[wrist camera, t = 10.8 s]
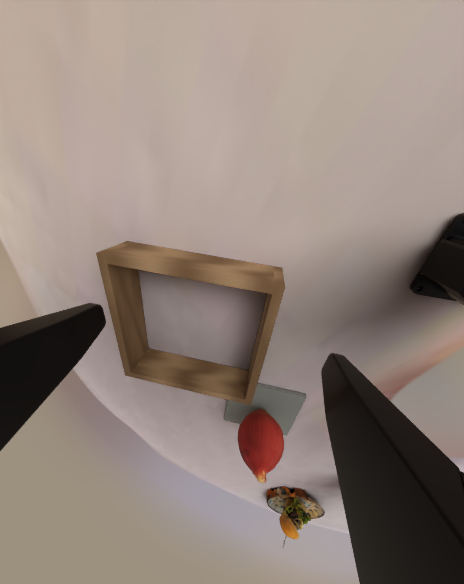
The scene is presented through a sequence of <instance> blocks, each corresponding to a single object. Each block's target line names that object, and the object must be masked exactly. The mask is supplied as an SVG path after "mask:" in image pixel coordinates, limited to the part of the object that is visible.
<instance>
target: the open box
mask: <svg viewBox="0 0 464 584" xmlns="http://www.w3.org/2000/svg"><path fill="white" fill-rule="evenodd" d="M96 254H97V258H98V263H99V267H100V271H101V275H102V279H103V284H104V288H105V292H106V296H107V300H108V305H109V309H110V313H111V317H112V321H113V326H114V330H115V334H116V338H117V342H118V347H119V351H120V355H121V359H122V363H123V368H124V372H125V375H126V376H130V377H134V378H139V379H143V380H147V381H151V382H155V383H159V384H164V385H168V386H172V387H176V388H180V389H185V390H189V391H193V392H197V393H201V394H205V395H210V396H214V397H218V398H222V399H226V400H231V401H235V402H239V403H243V404H247V405H251V404H252V400H253V397H254V394H255V390H256V387H257V383H258V380H259V376H260V373H261V369H262V366H263V362H264V359H265V355H266V352H267V348H268V345H269V341H270V338H271V334H272V331H273V327H274V324H275V320H276V317H277V314H278V310H279V307H280V303H281V300H282V296H283V293H284V289H285V284H284V277H283V270H282V268H280V267H274V266H268V265H262V264H257V263H251V262H245V261H239V260H233V259H228V258H222V257H216V256H210V255H204V254H198V253H193V252H187V251H181V250H175V249H169V248H164V247H158V246H152V245H146V244H140V243H135V242H129V241H126V242H124V243H121V244H118V245H116V246H113V247H111V248H108V249H105V250H103V251H100V252H98V253H96ZM138 270H143V271H149V272H154V273H160V274H165V275H170V276H176V277H181V278H187V279H192V280H197V281H203V282H208V283H214V284H219V285H224V286H230V287H235V288H241V289H246V290H251V291H257V292H262V293H267V296H266V300H265V304H264V309H263V313H262V317H261V321H260V325H259V329H258V334H257V338H256V342H255V346H254V350H253V355H252V359H251V363H250V367H249V371H248V370H243V369H239V368H234V367H230V366H225V365H221V364H216V363H212V362H207V361H203V360H198V359H194V358H189V357H185V356H180V355H176V354H171V353H167V352H162V351H158V350H153V349H149V348H148V341H147V333H146V326H145V319H144V311H143V304H142V296H141V289H140V281H139V274H138Z"/></svg>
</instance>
